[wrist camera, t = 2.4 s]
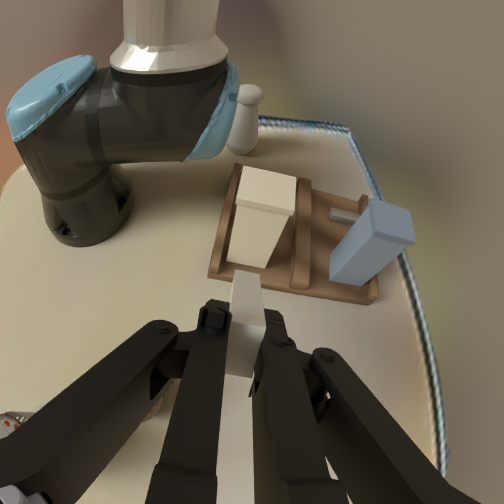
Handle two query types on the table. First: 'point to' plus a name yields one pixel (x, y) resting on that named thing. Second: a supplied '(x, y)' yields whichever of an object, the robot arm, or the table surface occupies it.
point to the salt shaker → (245, 120)
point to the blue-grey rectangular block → (371, 243)
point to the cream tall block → (260, 215)
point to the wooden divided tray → (298, 245)
